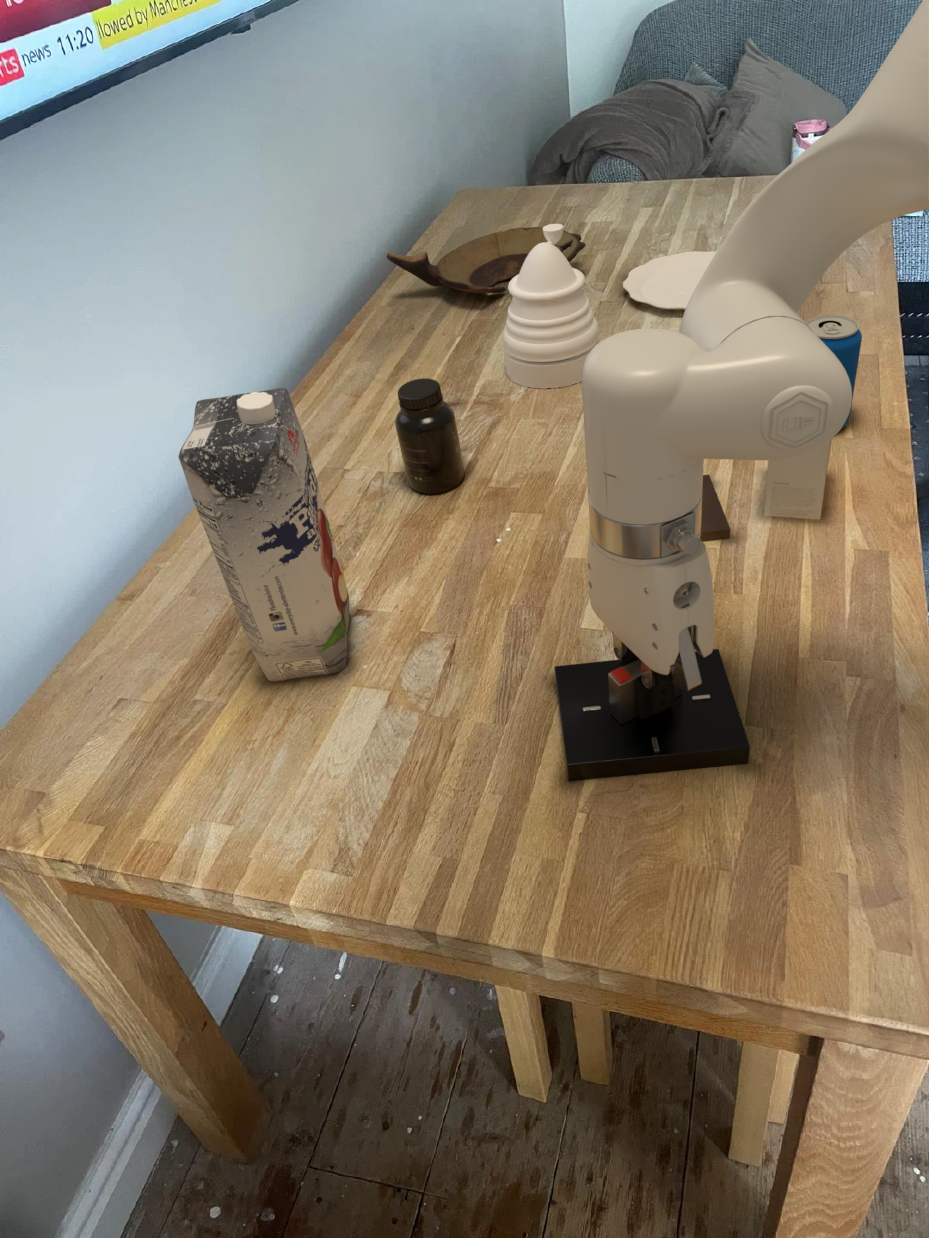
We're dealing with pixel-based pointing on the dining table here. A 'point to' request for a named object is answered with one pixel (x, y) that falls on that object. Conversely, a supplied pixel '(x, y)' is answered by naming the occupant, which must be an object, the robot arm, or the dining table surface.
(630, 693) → the knob
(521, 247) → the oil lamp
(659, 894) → the dining table surface
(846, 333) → the beverage can
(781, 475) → the small box
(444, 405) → the supplement bottle
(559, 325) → the honey pot
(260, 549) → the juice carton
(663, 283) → the plate
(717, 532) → the button block
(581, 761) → the console
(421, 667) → the dining table surface
